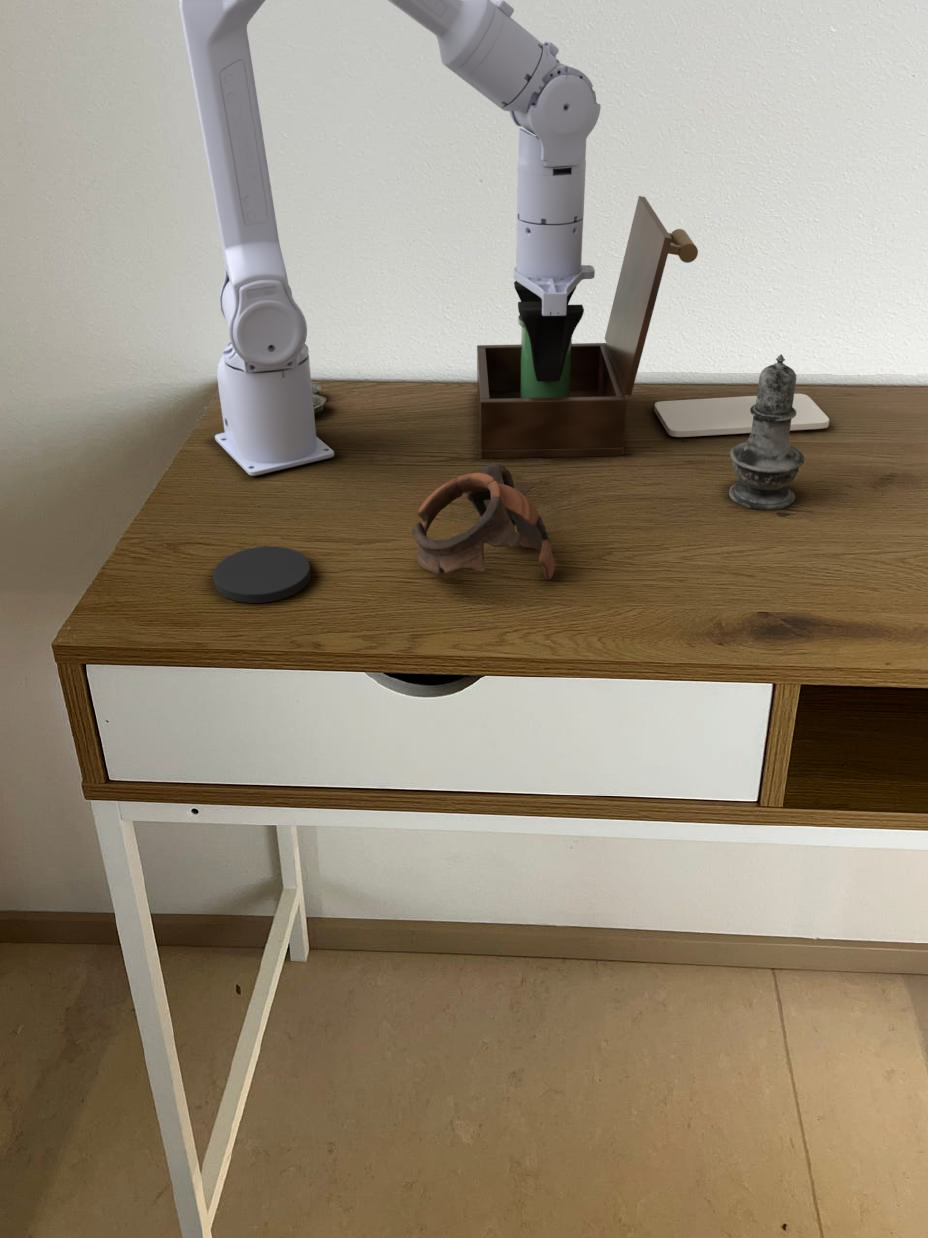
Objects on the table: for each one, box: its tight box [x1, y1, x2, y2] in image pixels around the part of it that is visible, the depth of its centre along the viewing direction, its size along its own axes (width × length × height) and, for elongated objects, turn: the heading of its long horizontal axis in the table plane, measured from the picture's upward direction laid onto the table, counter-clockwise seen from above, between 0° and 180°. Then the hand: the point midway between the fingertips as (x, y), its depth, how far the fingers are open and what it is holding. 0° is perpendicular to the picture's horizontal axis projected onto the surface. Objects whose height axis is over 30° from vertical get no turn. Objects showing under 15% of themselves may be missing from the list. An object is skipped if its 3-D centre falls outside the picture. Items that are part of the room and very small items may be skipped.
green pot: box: [517, 314, 573, 398], centre depth 105 cm, size 5×5×8 cm
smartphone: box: [653, 393, 830, 438], centre depth 107 cm, size 7×1×15 cm
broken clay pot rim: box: [411, 462, 555, 581], centre depth 84 cm, size 12×10×8 cm
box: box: [476, 342, 628, 459], centre depth 106 cm, size 13×15×5 cm
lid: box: [604, 195, 699, 397], centre depth 101 cm, size 13×15×4 cm
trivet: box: [213, 546, 312, 604], centre depth 84 cm, size 7×7×1 cm
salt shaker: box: [728, 354, 805, 511], centre depth 91 cm, size 6×6×12 cm
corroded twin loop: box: [311, 381, 327, 415], centre depth 111 cm, size 5×8×1 cm, turn 13°
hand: (545, 369), depth 105 cm, fingers closed on green pot, 5 cm apart
